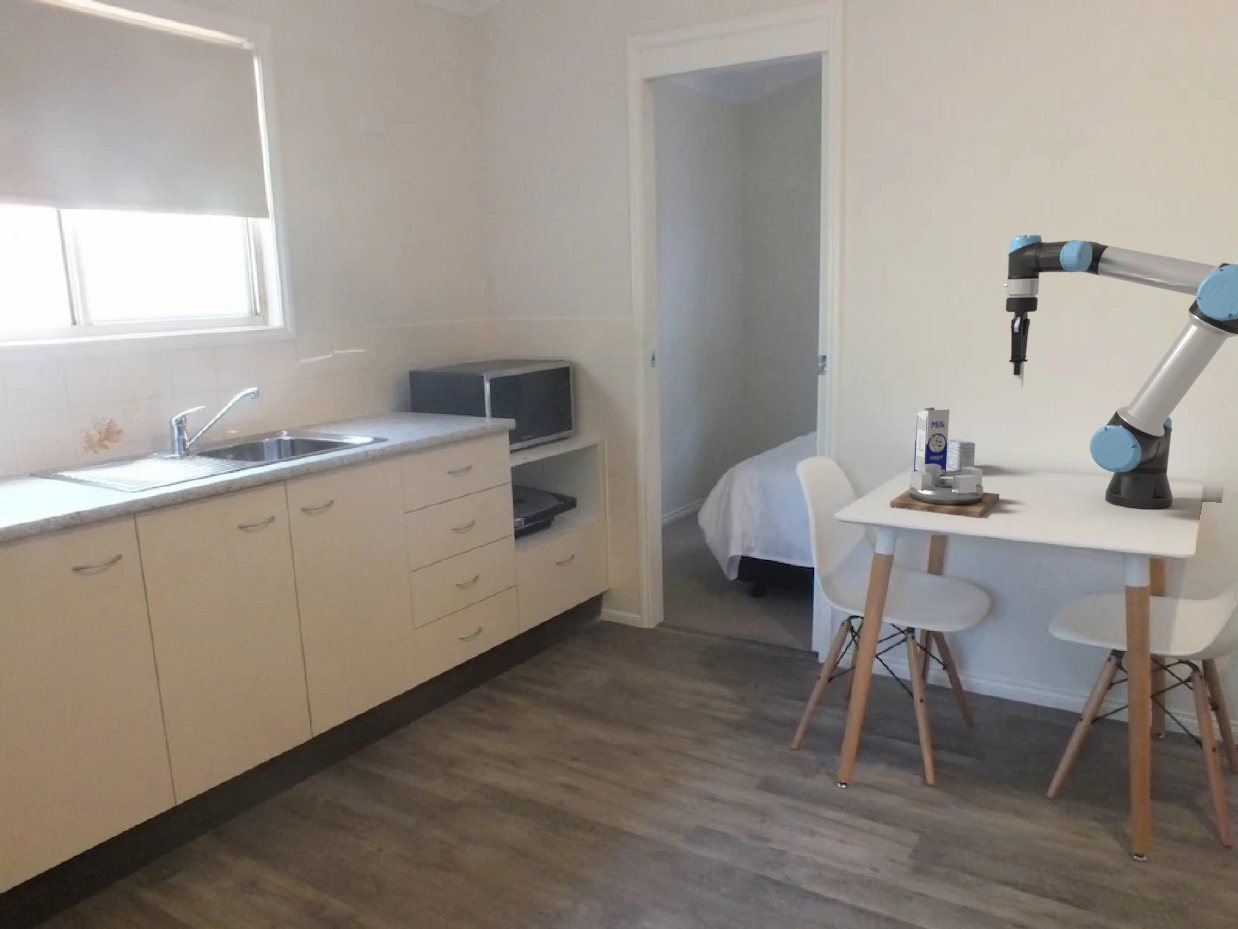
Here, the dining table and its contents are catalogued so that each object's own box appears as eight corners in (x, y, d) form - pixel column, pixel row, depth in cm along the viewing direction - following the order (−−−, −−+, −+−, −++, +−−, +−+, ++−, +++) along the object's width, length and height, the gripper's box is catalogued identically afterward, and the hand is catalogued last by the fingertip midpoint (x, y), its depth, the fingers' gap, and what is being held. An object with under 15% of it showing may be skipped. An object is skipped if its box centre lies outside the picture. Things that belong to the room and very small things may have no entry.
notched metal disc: (976, 507, 230) (978, 480, 229) (902, 500, 239) (903, 474, 238) (987, 493, 246) (989, 467, 244) (917, 486, 254) (918, 461, 253)
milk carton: (924, 476, 275) (927, 409, 271) (913, 472, 281) (916, 406, 277) (946, 475, 276) (950, 408, 272) (934, 471, 283) (937, 405, 279)
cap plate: (999, 499, 246) (999, 493, 245) (979, 517, 228) (979, 510, 227) (915, 490, 258) (915, 484, 257) (890, 507, 240) (890, 500, 239)
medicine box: (974, 470, 282) (975, 442, 280) (961, 471, 281) (962, 443, 279) (959, 466, 290) (960, 438, 288) (946, 466, 289) (947, 439, 287)
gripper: (1011, 295, 249) (1006, 383, 253) (1001, 297, 238) (996, 389, 242) (1041, 295, 245) (1036, 384, 249) (1033, 296, 234) (1027, 390, 238)
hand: (1016, 386), depth 246 cm, fingers closed
